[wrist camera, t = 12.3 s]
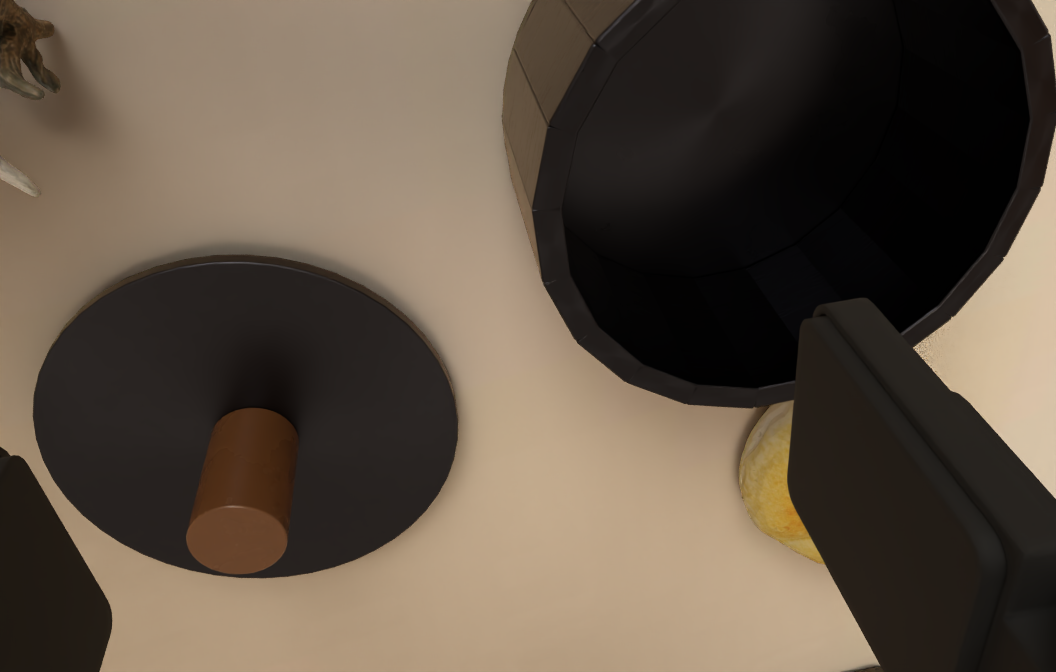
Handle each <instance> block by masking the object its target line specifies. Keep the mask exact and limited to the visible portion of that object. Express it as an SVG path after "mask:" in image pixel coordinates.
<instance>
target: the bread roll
mask: <svg viewBox="0 0 1056 672" xmlns="http://www.w3.org/2000/svg"><path fill="white" fill-rule="evenodd" d="M793 403H794V400H792V401H787V402H782V403H777V404H772V405H771V406H770V407H769V408H768V410H767V411H766V412H765V413H764V414H763V416H762V417H761V418H760V419H759V421H758V422H757V424H756V425H755V427H754V428H753V430H752V432H751V433H750V435H749V437H748V439H747V442H746V446H745V448H744V451H743V454H742V456H741V462H740V467H739V486H740V490H741V493H742V499H743V501H744V504H745V506H746V508H747V512H748V514H749V516H750V517H751V519H752V521H753V522H754V524H755V525H756V526H757V527H758V528H759V529H760V530H761V531H762V532H763V533H765V534H767V535H768V536H770V537H772V538H774V539H776V540H778V541H779V542H781V543H782V544H784V545H786V546H787V547H789V548H790V549H792V550H794V551H795V552H797V553H799V554H801V555H803V556H805V557H807V558H809V559H811V560H813V561H815V562H817V563H821V564H825V563H824V561H823V559H822V558H821V556H820V554H819V552H818V550H817V548H816V547H815V545H814V543H813V541H812V539H811V537H810V536H809V534H808V532H807V530H806V528H805V526H804V525H803V523H802V521H801V519H800V517H799V515H798V514H797V512H796V510H795V508H794V506H793V504H792V501H791V498H790V495H789V491H788V485H787V471H788V460H789V448H790V437H791V425H792V414H793Z"/></svg>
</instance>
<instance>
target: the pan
mask: <svg viewBox="0 0 1056 672" xmlns="http://www.w3.org/2000/svg"><path fill="white" fill-rule="evenodd" d="M502 124H503V130H504V140H505V147H506V151H507V156H508V161H509V167H510V173H511V179H512V183H513V186H514V190H515V193H516V196H517V200H518V203H519V206H520V210H521V213H522V216H523V220H524V223H525V226H526V230H527V233H528V236H529V240H530V243H531V246H532V249H533V253H534V256H535V259H536V263H537V266H538V269H539V273H540V276H541V279H542V282H543V285H544V287H545V288H546V290H547V292H548V294H549V296H550V297H551V299H552V301H553V303H554V304H555V306H556V308H557V310H558V311H559V313H560V315H561V317H562V318H563V320H564V322H565V324H566V325H567V327H568V329H569V331H570V332H571V334H572V336H573V338H574V339H575V340H576V341H577V343H578V344H579V345H580V346H582V347H583V348H584V349H585V350H586V351H588V352H589V353H590V354H591V355H593V356H594V357H595V358H596V359H597V360H599V361H600V362H601V363H602V364H604V365H605V366H606V367H607V368H608V369H610V370H611V371H612V372H613V373H615V374H616V375H617V376H618V377H619V378H621V379H622V380H623V381H624V382H627V383H629V384H631V385H634V386H637V387H640V388H642V389H645V390H648V391H651V392H653V393H656V394H659V395H662V396H664V397H667V398H670V399H673V400H675V401H678V402H681V403H684V404H688V405H700V406H717V407H735V408H754V407H756V408H757V407H762V406H767V405H772V404H777V403H782V402H787V401H792V400H794V391H795V380H796V368H797V357H798V346H799V334H800V327H801V324H802V322H803V320H805V319H809V318H813V313H814V311H815V309H816V307H817V306H819V305H821V304H827V303H833V302H839V301H845V300H851V299H856V298H867V299H869V300H870V301H871V302H872V303H873V304H874V305H875V306H876V307H877V308H878V309H879V311H880V312H881V313H882V314H883V315H884V316H885V317H886V318H887V320H888V321H889V322H890V323H891V324H892V325H893V326H894V328H895V329H896V330H897V331H898V332H899V333H900V334H901V335H902V337H903V338H904V339H905V340H906V341H907V342H908V343H909V344H910V346H911V347H912V348H913V347H914V346H916V345H917V344H918V343H920V342H921V341H922V340H924V339H925V338H926V337H928V336H929V335H930V334H932V333H933V332H935V331H936V330H937V329H939V328H940V327H941V326H943V325H944V324H945V323H947V322H948V321H949V320H951V317H954V316H955V315H956V314H957V313H958V312H959V311H960V309H961V308H962V307H963V306H964V305H965V304H966V303H967V301H968V300H969V299H970V298H971V297H972V296H973V295H974V293H975V292H976V291H977V290H978V289H979V288H980V287H981V285H982V284H983V283H984V282H985V281H986V280H987V279H988V277H989V276H990V275H991V274H992V273H993V272H994V270H995V269H996V268H997V267H998V266H999V265H1000V264H1001V262H1002V261H1003V260H1004V258H1003V257H1005V256H1006V255H1007V253H1008V252H1009V250H1010V248H1011V246H1012V244H1013V242H1014V240H1015V238H1016V236H1017V234H1018V233H1019V231H1020V229H1021V227H1022V225H1023V223H1024V221H1025V219H1026V217H1027V215H1028V213H1029V212H1030V210H1031V208H1032V206H1033V204H1034V202H1035V200H1036V198H1037V196H1038V194H1039V193H1040V191H1041V188H1040V187H1042V186H1043V183H1044V178H1045V174H1046V169H1047V164H1048V160H1049V155H1050V151H1051V146H1052V141H1053V137H1054V132H1055V127H1056V78H1055V69H1054V60H1053V52H1052V43H1051V36H1050V34H1049V32H1048V29H1047V27H1046V25H1045V23H1044V22H1043V20H1042V18H1041V16H1040V15H1039V13H1038V11H1037V9H1036V8H1035V6H1034V4H1033V2H1032V0H532V2H531V4H530V6H529V8H528V10H527V12H526V15H525V17H524V19H523V21H522V23H521V26H520V28H519V30H518V32H517V36H516V39H515V42H514V45H513V48H512V52H511V55H510V58H509V62H508V67H507V73H506V79H505V85H504V92H503V113H502Z"/></svg>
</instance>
